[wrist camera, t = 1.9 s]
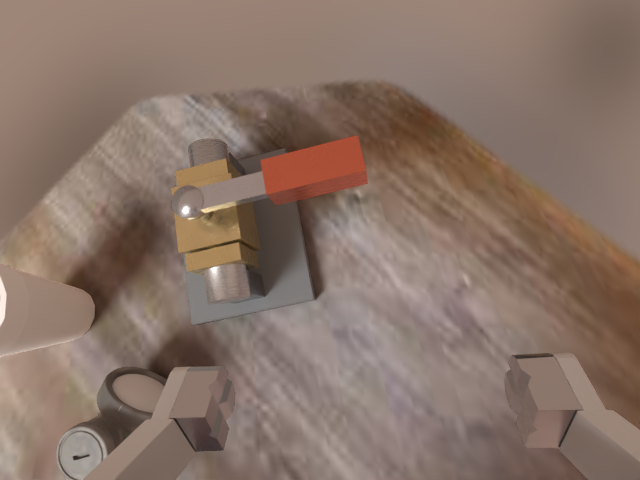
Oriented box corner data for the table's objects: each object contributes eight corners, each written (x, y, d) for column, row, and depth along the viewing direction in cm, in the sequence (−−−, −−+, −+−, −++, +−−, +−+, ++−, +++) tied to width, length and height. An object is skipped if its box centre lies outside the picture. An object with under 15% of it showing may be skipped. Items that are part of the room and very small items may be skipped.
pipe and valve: (224, 308, 43) (172, 303, 33) (206, 176, 47) (154, 132, 36) (276, 297, 43) (240, 288, 32) (253, 163, 46) (214, 116, 36)
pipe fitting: (141, 355, 45) (72, 381, 35) (197, 395, 44) (143, 435, 33) (88, 443, 45) (5, 495, 35) (143, 486, 44) (72, 553, 34)
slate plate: (197, 324, 45) (191, 324, 44) (180, 180, 49) (174, 176, 48) (315, 299, 43) (313, 298, 42) (287, 153, 48) (284, 148, 46)
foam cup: (100, 265, 48) (0, 245, 36) (113, 339, 46) (12, 345, 34) (32, 290, 49) (-88, 279, 37) (42, 364, 47) (-82, 379, 34)
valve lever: (185, 227, 35) (167, 219, 32) (181, 196, 35) (163, 184, 32) (367, 183, 33) (366, 170, 30) (359, 151, 34) (357, 134, 31)
